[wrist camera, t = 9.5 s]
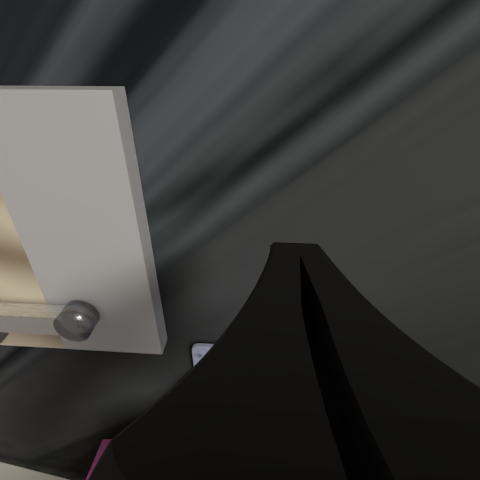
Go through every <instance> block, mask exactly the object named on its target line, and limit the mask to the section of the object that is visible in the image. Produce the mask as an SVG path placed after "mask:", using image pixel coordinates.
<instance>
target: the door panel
mask: <svg viewBox="0 0 480 480" xmlns="http://www.w3.org/2000/svg"><path fill="white" fill-rule="evenodd" d="M0 302H10V303H31V304H47V303H46V301H45V298H44V296H43V294H42V291H41V289H40V286H39V284H38V282H37V279H36V277H35V274H34V272H33V270H32V267H31V265H30V262H29V260H28V258H27V255H26V253H25V250H24V248H23V245H22V243H21V241H20V238H19V236H18V233H17V231H16V229H15V226H14V224H13V221H12V219H11V217H10V214H9V212H8V209H7V207H6V205H5V202H4V200H3V197H2V195H1V193H0ZM0 345H11V346H28V347H45V348H61V349H65V347H64V344H63V342H62V339H61V337H60V335H43V334H24V333H9V334H8V335H7V337H6V338H5V339H4V340H3V341H2V342H1V343H0Z"/></svg>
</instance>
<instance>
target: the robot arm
mask: <svg viewBox="0 0 480 480" xmlns="http://www.w3.org/2000/svg"><path fill="white" fill-rule="evenodd" d="M192 357H193V366H194V367H192V368H191V369H190V370H189V371H188V372H187V373H186V374H185V375H184V376H183V377H182V378H181V379H180V380H179V381H178V382H177V383H176V384H175V385H174V386H173V387H172V388H171V389H170V390H169V391H168V392H167V393H166V394H165V395H163V396H162V397H161V398H160V399H159V400H158V401H157V402H156V403H154V404H153V405H152V406H151V407H150V408H148V409H147V410H146V411H145V412H144V413H142V414H141V415H140V416H139V417H138V418H137V419H135V420H134V421H133V422H132V423H131V424H129V425H128V426H127V427H126V428H125V429H123V430H122V431H121V432H120V433H119V434H117V435H116V436H115V437H114V438H113V439H112V440H110V442H109V444H108V445H107V447H106V448H105V450H104V452H103V454H102V455H101V457H100V459H99V460H98V462H97V464H96V466H95V467H94V469H93V471H92V473H91V475H90V477H89V479H88V480H480V388H479V387H478V386H476V385H475V384H473V383H472V382H470V381H469V380H467V379H466V378H464V377H463V376H461V375H460V374H459V373H457V372H456V371H454V370H453V369H451V368H450V367H449V366H447V365H446V364H444V363H443V362H442V361H440V360H439V359H437V358H436V357H434V356H433V355H432V354H430V353H429V352H428V351H426V350H425V349H424V348H422V347H421V346H420V345H418V344H417V343H416V342H415V341H413V340H412V339H411V338H410V337H409V336H407V335H406V334H405V333H404V332H402V331H401V330H400V329H399V328H398V327H396V326H395V325H394V324H393V323H392V322H390V321H389V320H388V319H387V318H386V317H385V316H384V315H382V314H381V313H380V312H379V311H378V310H377V309H376V308H375V307H374V306H373V305H372V304H371V303H370V302H369V301H368V300H367V299H366V298H365V297H364V296H363V295H362V294H361V293H360V292H359V291H358V290H357V289H356V288H355V287H354V286H353V285H352V284H351V283H350V282H349V280H348V279H347V278H346V277H345V276H344V275H343V274H342V273H341V271H340V270H339V269H338V268H337V267H336V266H335V264H334V263H333V262H332V261H331V260H330V258H329V257H328V256H327V255H326V254H325V252H324V251H323V250H322V249H321V248H320V246H319V245H318V244H305V243H278V242H275V243H273V244H272V245H271V246H270V253H269V257H268V260H267V262H266V265H265V267H264V270H263V272H262V274H261V276H260V278H259V280H258V282H257V284H256V286H255V288H254V289H253V291H252V293H251V294H250V296H249V298H248V299H247V301H246V303H245V304H244V306H243V307H242V309H241V310H240V312H239V313H238V315H237V316H236V317H235V319H234V320H233V321H232V323H231V324H230V325H229V327H228V328H227V329H226V331H225V332H224V333H223V334H222V335H221V337H220V338H219V339H218V340H217V341H216V343H215V344H205V343H196V344H194V345H193V347H192Z"/></svg>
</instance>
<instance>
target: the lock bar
mask: <svg viewBox="0 0 480 480" xmlns="http://www.w3.org/2000/svg"><path fill="white" fill-rule="evenodd" d="M99 319H100V315H99V312H98V311H97V309H96V308H95V307H94V306H92V305H91V304H89V303H87V302H84V301H80V300H73V301H70V302H68V303H67V304H66V305H52V304H31V303H10V302H0V332H6V333H24V334H43V335H60V336H62V337H63V338H65V339H68V340H70V341H75V342H81V341H85V340H87V339H88V338H89V336H90V335H91V333H92V331H93V330H94V328H95V326H96V325H97V323H98V322H99Z"/></svg>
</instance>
